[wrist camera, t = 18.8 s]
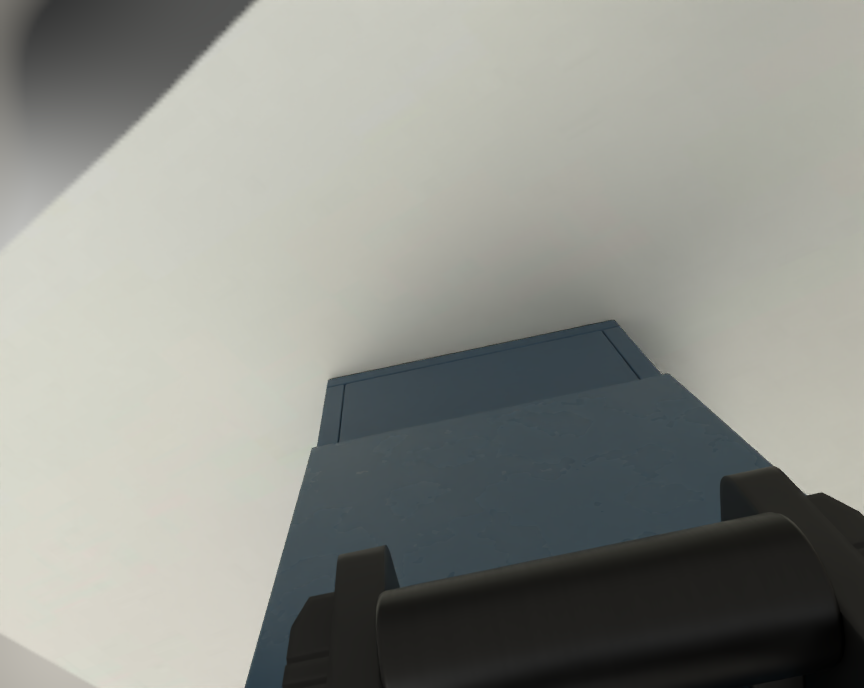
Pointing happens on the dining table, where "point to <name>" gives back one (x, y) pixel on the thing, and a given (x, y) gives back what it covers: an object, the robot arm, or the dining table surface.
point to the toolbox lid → (561, 551)
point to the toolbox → (480, 381)
